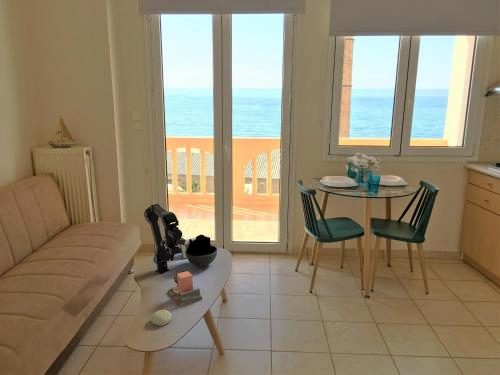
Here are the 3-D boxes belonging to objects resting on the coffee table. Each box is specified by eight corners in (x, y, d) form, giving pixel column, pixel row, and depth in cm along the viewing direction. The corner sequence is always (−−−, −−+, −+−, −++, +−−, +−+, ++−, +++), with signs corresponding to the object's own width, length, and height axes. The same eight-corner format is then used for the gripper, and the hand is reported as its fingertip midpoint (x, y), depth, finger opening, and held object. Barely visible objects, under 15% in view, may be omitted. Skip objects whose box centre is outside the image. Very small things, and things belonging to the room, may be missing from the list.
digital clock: (182, 259, 248) (181, 244, 245) (177, 255, 255) (176, 240, 253) (205, 254, 256) (204, 239, 253) (199, 249, 263) (198, 235, 261)
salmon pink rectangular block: (178, 293, 201) (176, 273, 199) (189, 289, 204) (187, 271, 202) (182, 297, 196) (181, 278, 194) (193, 294, 199) (192, 275, 197)
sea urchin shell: (176, 317, 178) (164, 311, 174) (166, 332, 177) (153, 326, 172) (168, 309, 186) (156, 302, 181) (158, 323, 184) (146, 317, 179)
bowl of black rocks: (218, 257, 249) (217, 230, 244) (217, 271, 229) (216, 242, 225) (188, 259, 248) (186, 231, 244) (184, 272, 229) (181, 243, 224)
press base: (168, 291, 207) (167, 281, 205) (188, 285, 213) (188, 275, 211) (180, 306, 192) (179, 295, 190) (202, 299, 198) (201, 289, 196)
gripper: (189, 236, 210) (191, 263, 213) (177, 227, 225) (179, 252, 229) (170, 241, 204) (172, 267, 208) (159, 231, 220) (161, 256, 223)
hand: (172, 260), depth 217 cm, fingers closed
